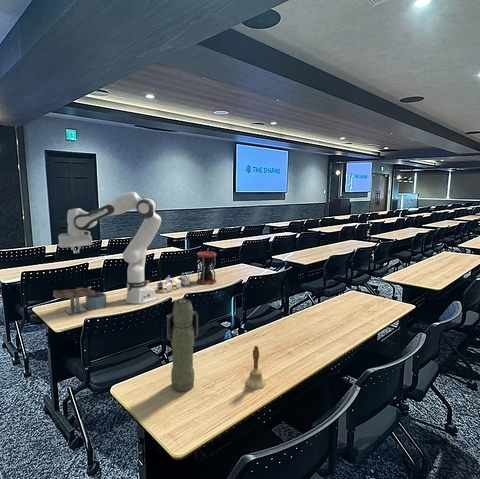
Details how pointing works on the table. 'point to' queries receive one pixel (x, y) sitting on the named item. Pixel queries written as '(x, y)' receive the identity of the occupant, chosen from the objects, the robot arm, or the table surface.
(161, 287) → the diorama
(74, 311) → the lever stand
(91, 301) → the blue-grey box
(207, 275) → the hourglass
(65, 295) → the lever
